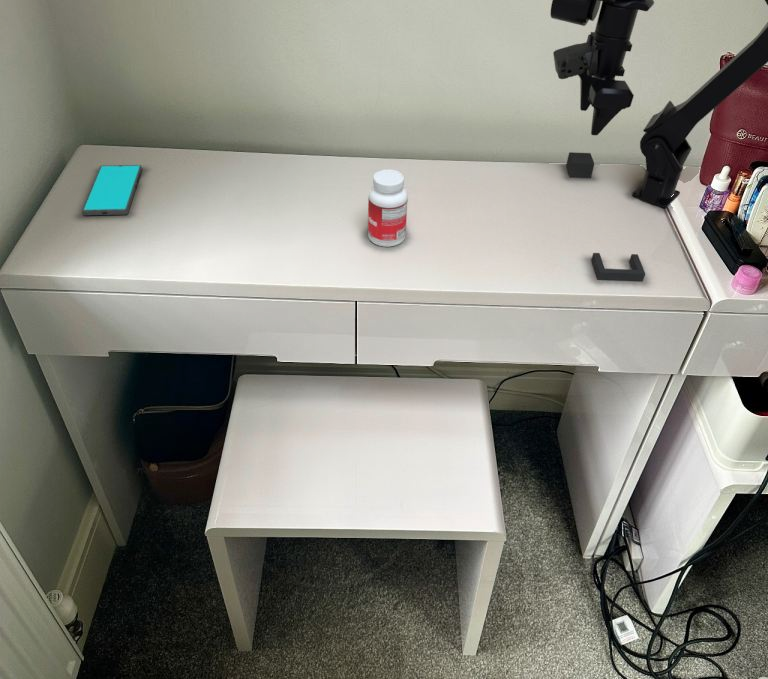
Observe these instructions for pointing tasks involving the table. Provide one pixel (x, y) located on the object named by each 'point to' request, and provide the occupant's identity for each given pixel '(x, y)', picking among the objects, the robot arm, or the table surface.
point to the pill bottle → (387, 208)
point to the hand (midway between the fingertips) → (588, 122)
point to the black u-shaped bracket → (618, 270)
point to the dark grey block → (580, 165)
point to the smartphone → (112, 190)
